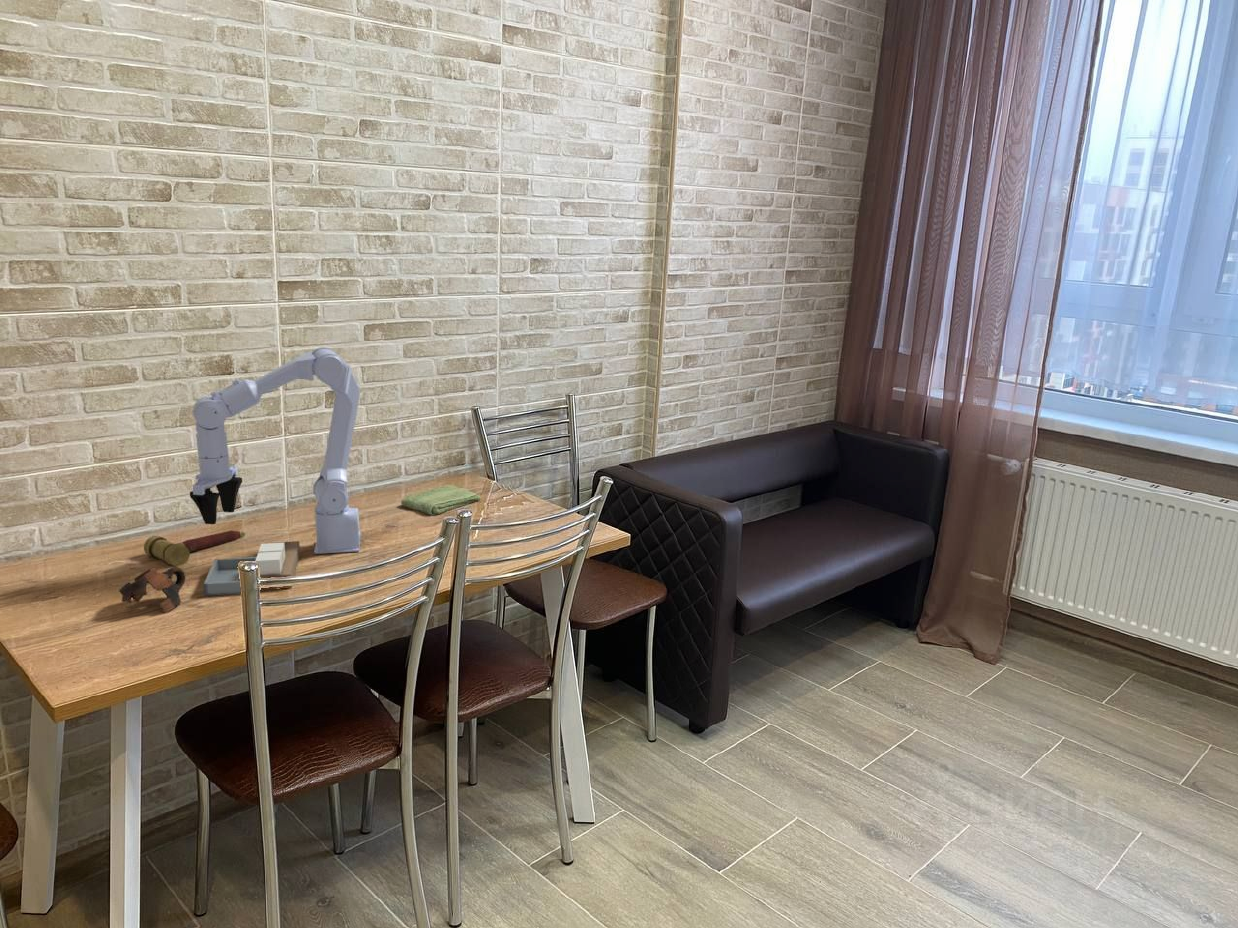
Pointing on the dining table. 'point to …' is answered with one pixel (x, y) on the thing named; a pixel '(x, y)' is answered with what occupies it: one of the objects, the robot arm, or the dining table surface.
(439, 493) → the washcloth
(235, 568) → the tray
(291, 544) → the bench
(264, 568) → the white squarish block
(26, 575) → the dining table surface
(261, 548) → the tile
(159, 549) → the gavel
